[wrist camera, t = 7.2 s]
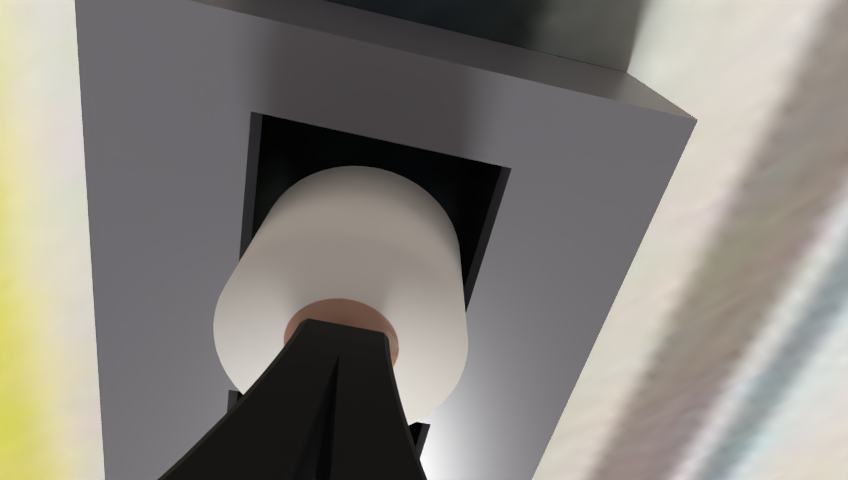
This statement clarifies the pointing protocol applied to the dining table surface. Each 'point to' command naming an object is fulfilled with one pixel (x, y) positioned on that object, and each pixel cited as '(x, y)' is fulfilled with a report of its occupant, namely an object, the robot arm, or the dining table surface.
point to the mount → (372, 117)
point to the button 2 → (352, 280)
